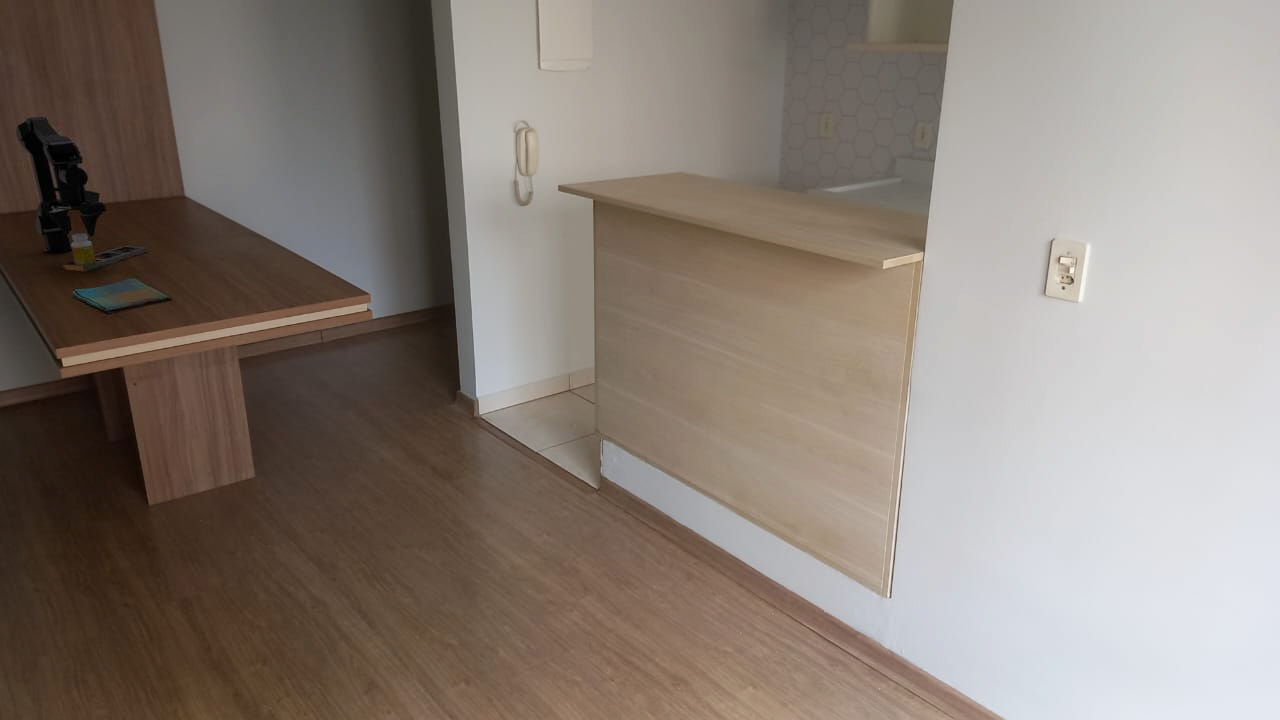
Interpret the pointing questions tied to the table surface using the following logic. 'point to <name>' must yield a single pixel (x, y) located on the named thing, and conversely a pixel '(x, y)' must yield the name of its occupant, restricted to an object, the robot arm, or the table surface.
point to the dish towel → (120, 296)
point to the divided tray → (102, 262)
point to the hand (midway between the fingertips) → (79, 235)
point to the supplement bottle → (82, 250)
